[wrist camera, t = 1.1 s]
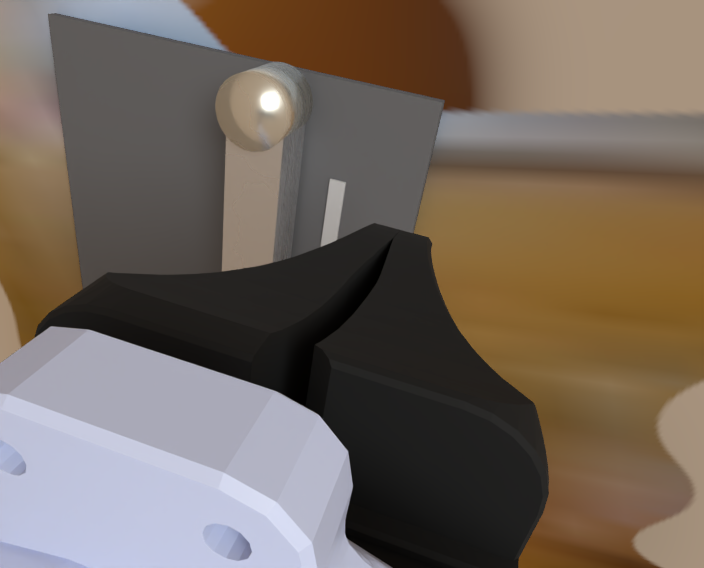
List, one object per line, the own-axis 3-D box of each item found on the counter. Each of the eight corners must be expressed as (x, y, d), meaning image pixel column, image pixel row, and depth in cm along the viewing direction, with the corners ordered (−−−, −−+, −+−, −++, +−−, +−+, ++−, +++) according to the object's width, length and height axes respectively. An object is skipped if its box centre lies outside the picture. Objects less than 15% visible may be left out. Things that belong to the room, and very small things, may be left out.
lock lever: (293, 387, 25) (272, 422, 23) (222, 364, 26) (196, 397, 24) (333, 73, 18) (308, 86, 16) (234, 51, 19) (198, 60, 17)
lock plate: (365, 435, 27) (362, 442, 26) (95, 345, 29) (89, 350, 29) (444, 100, 18) (442, 103, 18) (55, 13, 21) (45, 14, 20)
